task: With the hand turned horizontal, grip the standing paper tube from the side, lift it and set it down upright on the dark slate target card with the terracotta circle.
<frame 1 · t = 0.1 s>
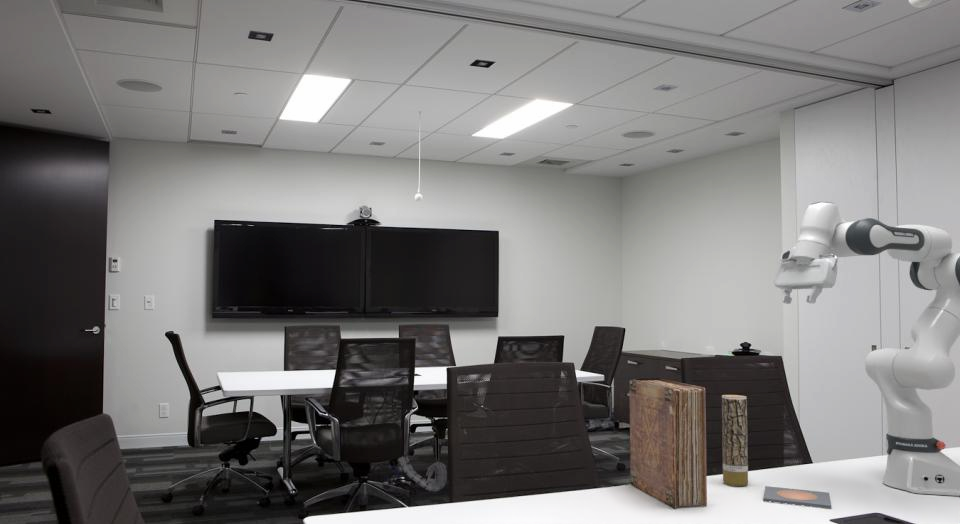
hand: (798, 303, 193), 52 cm above the table, tool tilted 20°, fingers open, 8 cm apart
book: (666, 496, 188), on the table
target card: (796, 498, 186), on the table
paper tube: (735, 484, 201), on the table
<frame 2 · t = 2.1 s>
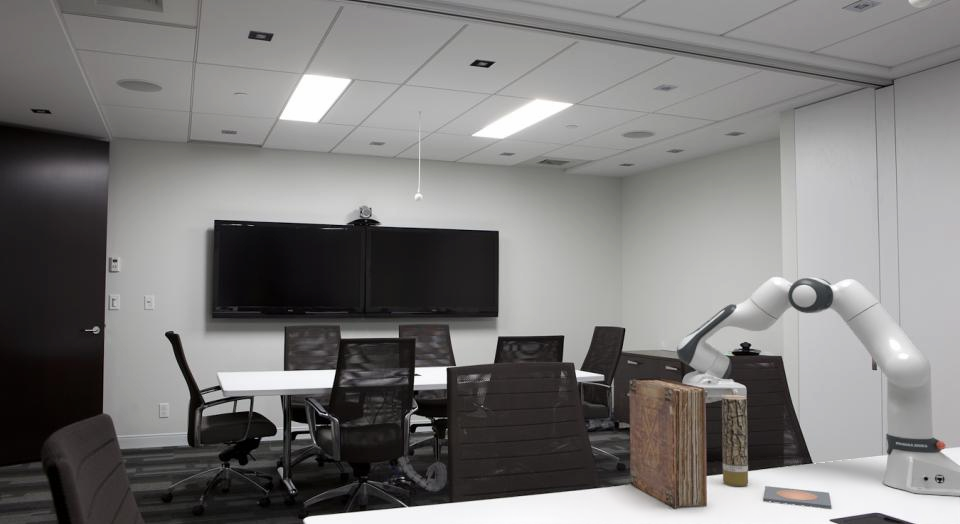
hand: (720, 394, 214), 24 cm above the table, tool horizontal, fingers open, 8 cm apart
nothing on the table moved.
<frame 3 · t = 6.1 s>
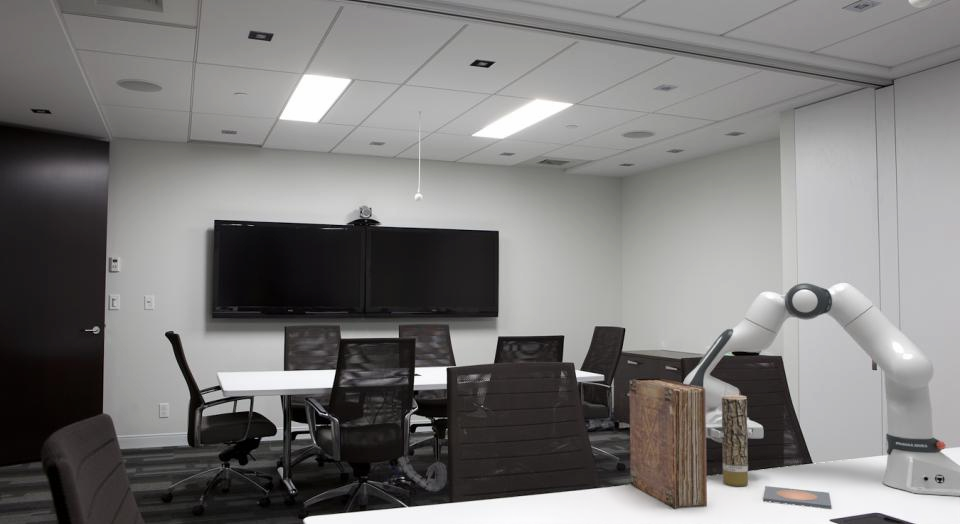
hand: (735, 435, 201), 14 cm above the table, tool horizontal, fingers closed on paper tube, 7 cm apart
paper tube: (735, 484, 201), on the table, touching gripper
everything else where it was.
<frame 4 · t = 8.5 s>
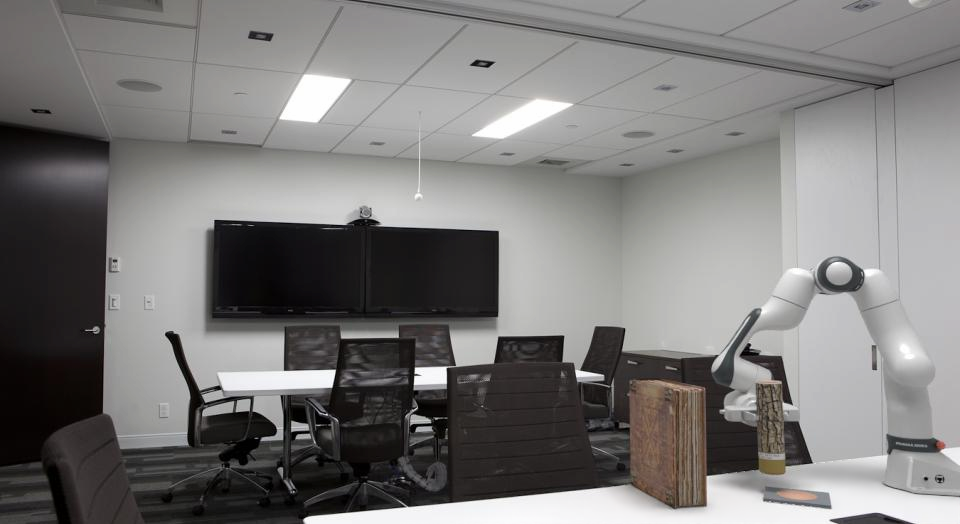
hand: (771, 417, 193), 20 cm above the table, tool horizontal, fingers closed on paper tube, 7 cm apart
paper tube: (772, 473, 192), point 5 cm above the table, touching gripper
everything else where it was.
when the fingers open (16 cm above the table, at t = 10.9 s): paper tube stays where it is, resting on target card.
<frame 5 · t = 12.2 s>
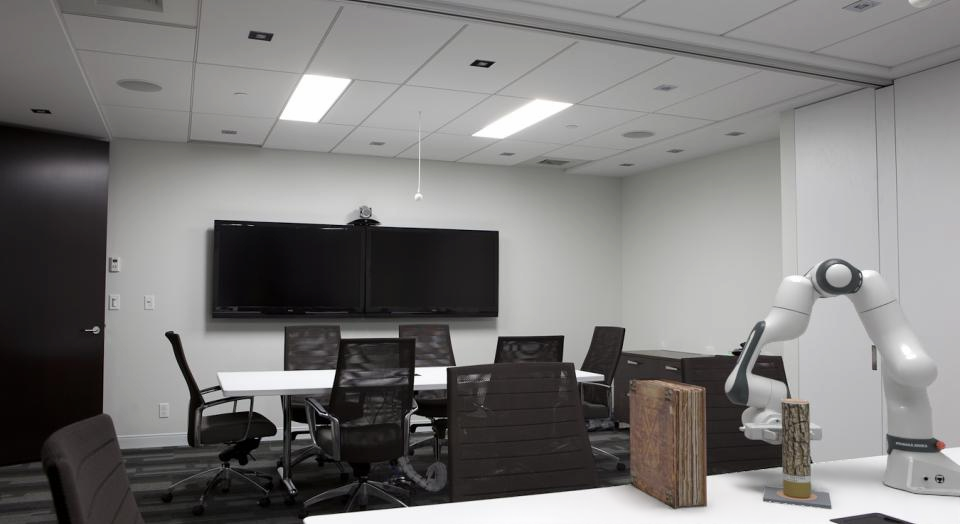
hand: (794, 436, 188), 16 cm above the table, tool horizontal, fingers open, 8 cm apart
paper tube: (797, 496, 185), point 1 cm above the table, touching target card
everything else where it was.
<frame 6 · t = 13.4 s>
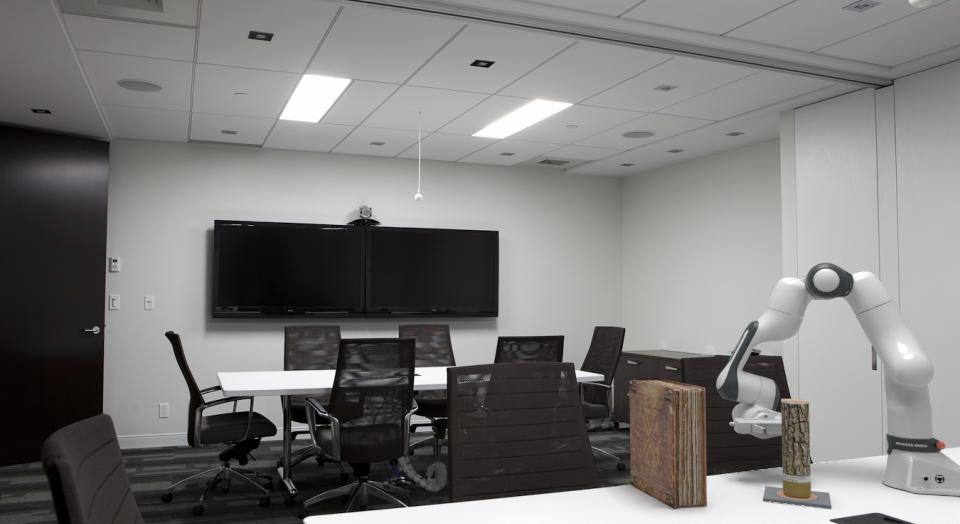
hand: (781, 431, 196), 16 cm above the table, tool horizontal, fingers open, 8 cm apart
nothing on the table moved.
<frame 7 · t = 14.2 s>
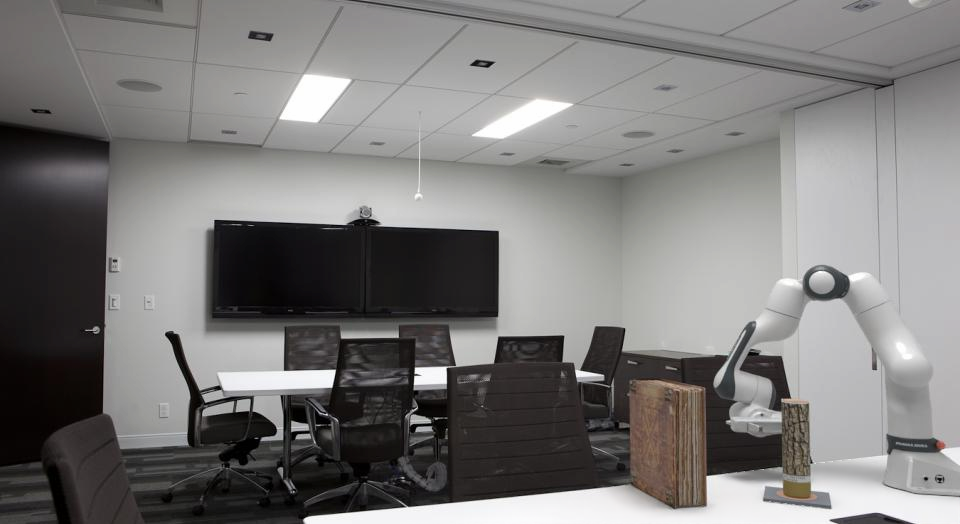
hand: (776, 429, 199), 16 cm above the table, tool horizontal, fingers open, 8 cm apart
nothing on the table moved.
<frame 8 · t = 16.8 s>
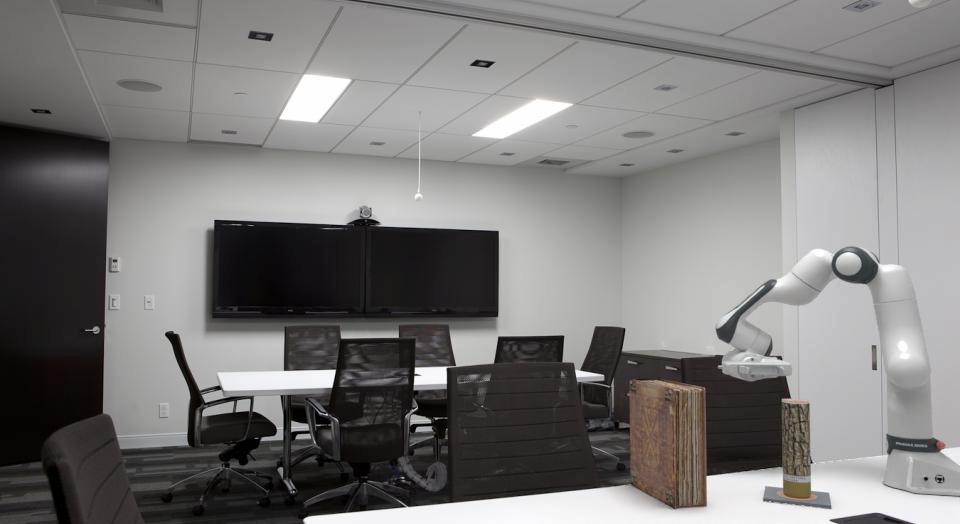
hand: (765, 370, 208), 32 cm above the table, tool horizontal, fingers open, 8 cm apart
nothing on the table moved.
at the end: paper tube inside the target area on the target card (0.7 cm from its centre), point 0.7 cm above the target card's base; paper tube tilted 0°; the gripper is holding nothing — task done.
